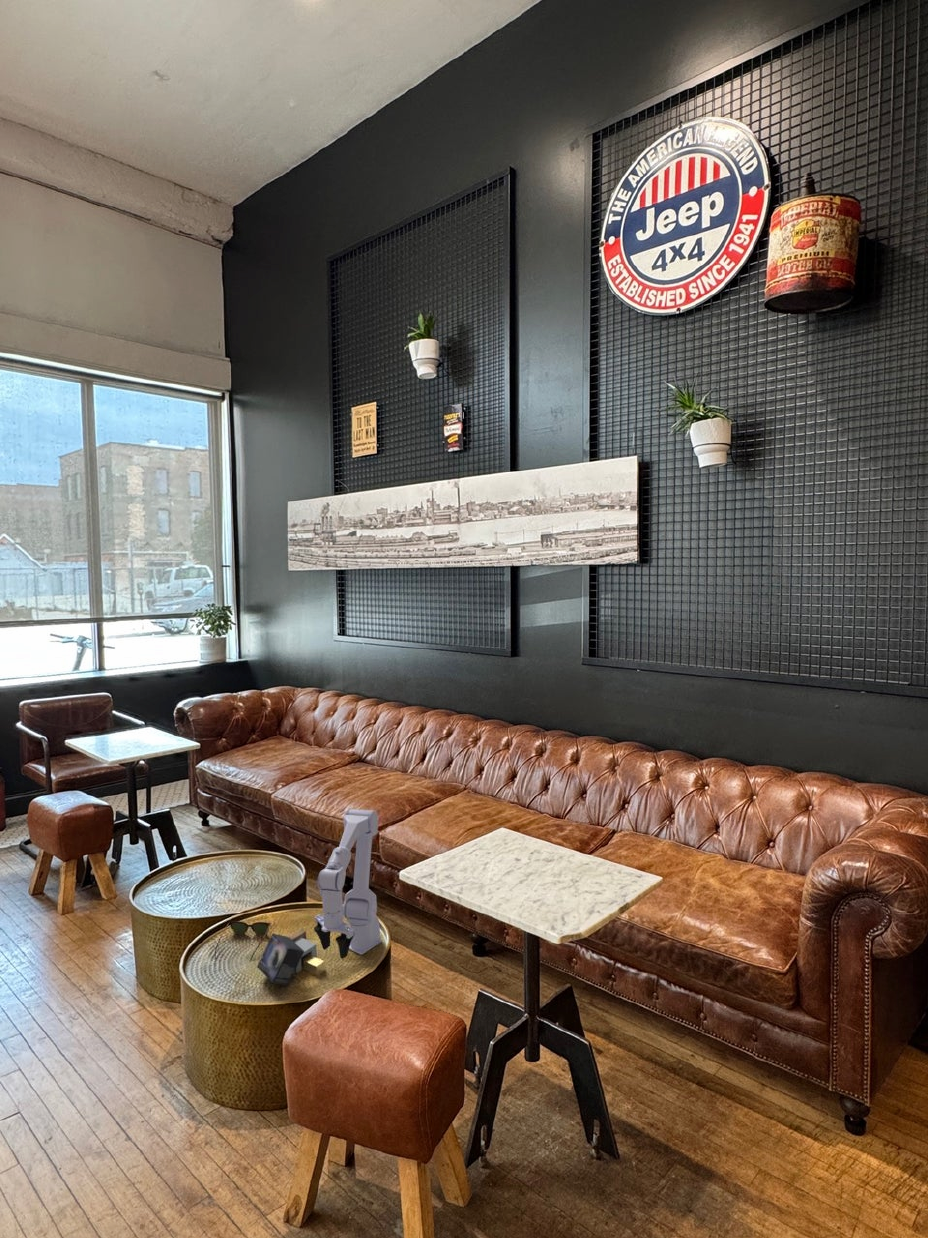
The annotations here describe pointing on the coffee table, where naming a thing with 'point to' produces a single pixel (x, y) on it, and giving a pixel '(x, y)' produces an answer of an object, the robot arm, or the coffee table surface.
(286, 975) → the small box
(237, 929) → the sunglasses
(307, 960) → the yellow rectangular bar
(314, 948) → the socket block
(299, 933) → the backstop wall
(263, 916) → the coffee table surface
